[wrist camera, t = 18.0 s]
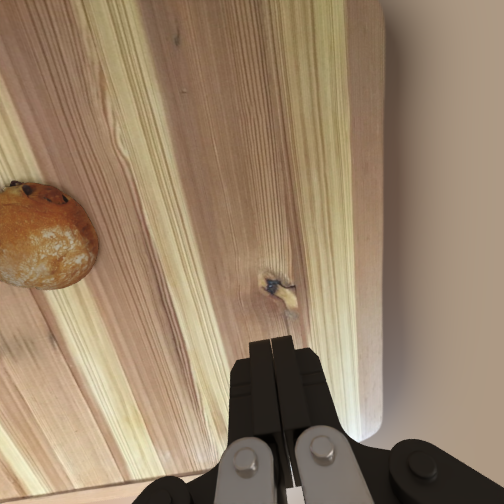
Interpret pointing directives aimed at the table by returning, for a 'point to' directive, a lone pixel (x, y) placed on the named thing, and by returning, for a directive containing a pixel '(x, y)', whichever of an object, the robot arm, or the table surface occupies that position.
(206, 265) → the table surface
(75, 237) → the bread roll
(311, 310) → the table surface
